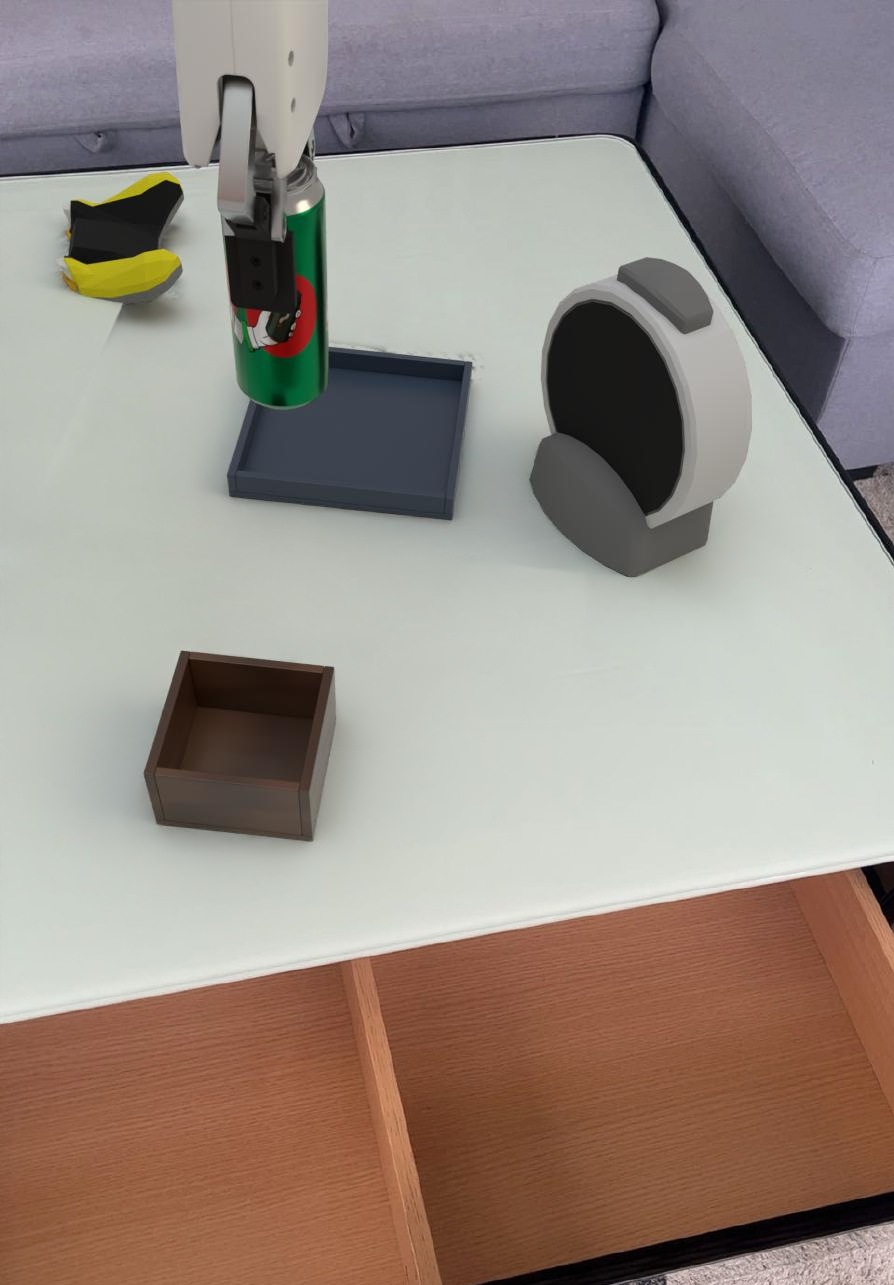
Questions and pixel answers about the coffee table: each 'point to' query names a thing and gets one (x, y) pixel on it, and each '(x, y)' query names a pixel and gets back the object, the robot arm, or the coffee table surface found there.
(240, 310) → the soda can
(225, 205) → the robot arm
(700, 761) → the coffee table surface
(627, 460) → the alarm clock
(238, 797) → the dark wooden box
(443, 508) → the tray
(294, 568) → the coffee table surface
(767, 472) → the coffee table surface
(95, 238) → the gaming controller
